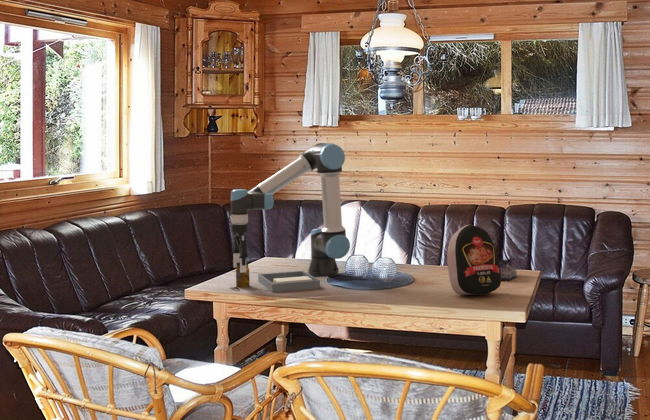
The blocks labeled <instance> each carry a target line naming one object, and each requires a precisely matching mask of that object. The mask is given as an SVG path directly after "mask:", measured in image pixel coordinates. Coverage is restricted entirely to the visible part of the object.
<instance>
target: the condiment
mask: <svg viewBox="0 0 650 420" xmlns="http://www.w3.org/2000/svg"><path fill="white" fill-rule="evenodd" d="M235 283H236V285H235V286H232V287H231V286H230V289H231V290H233V291H236V292H237V291H241V288H249V287H250V285H251V284H250V283H251V282H250V268H249V262H248V261H246V272H244V273H240V262H238V263H237V268H236V269H235Z"/></svg>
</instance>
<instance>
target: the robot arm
mask: <svg viewBox="0 0 650 420" xmlns="http://www.w3.org/2000/svg"><path fill="white" fill-rule="evenodd" d="M345 160H346V156H345V152H344V150H343V148H341V146H339V145H338V144H335V143H332V142H331V143H326V142H318V143H316V144H314V145H312V146H310V148H308V149H306V150H304V151H303V152H302V153H301V154H299V155H298V157H297V158H296V159H295V160H294V161H292V162H291V163H289V164H288V165H286V166H284V167H283V168H282V169H280V170H278V171H277V172H275V174H273V175H271V176H270V177H268V178H267V179H265V180H264V181H262V182H260V183H259V184H258V185H256V186H254V187H253V188H251V189H248V190H247V189H246V188H235V189H232V190H231V192H230V216H229V219H230V221H231V224H230V231H231V233H233V238H232V253H233V268H237V263H238V262H240V273H244V272H246V262H247V258H248V250H247V247H248V246H247V241H246V240H247V239H246V238H247V237H246V235H244V233H248V231H249V226H248V223H249V215H248V214H249V213H248V212H249V211H255V210H256V211H257V210H260V211H261V210H265V211H266V210H271V209H272V208H274V201H275V199H274V194H275V193H277V192H278V191H280V190H282V189H283V188H284V187H286V186H287V185H289V184H291V183H292V182H293V181H295V180H297V179H298V178H300V177H301V176H302V175H304V174H305V173H307V172H308V173H310V172H313V171H314V170H316V171H317V174H318V175H319V177H320V182H321V183H320V185H321V198H322V217H323V227H321V228H313V229H312V230H311V232H310V252H311V253H310V254H311V259H310V263H309V266H308V269H307V273H308V274H310V275H311V276H313V277H315V278H320V277H321V278H322V277H324V278H325V277H328V278H332V277H333V276H334V277H337V275H338V276H339V275H340V269H339V267H338V263H337V261H336V260H337V259H343V258H344V257H346V255H347V254H348V253H349V252H350V248H351V243H350V240H349V238H348V237H347V231H346V228H345V227H344V226H343V220H342V203H341V187H340V186H341V185H340V175H341V174H342V172H343V165H344V163H345ZM334 277H333V278H334Z"/></svg>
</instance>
